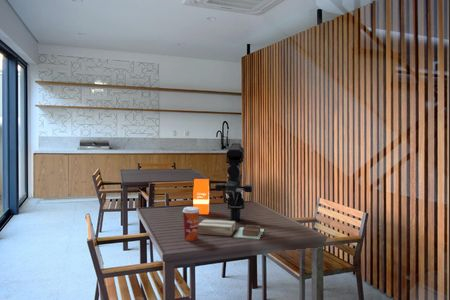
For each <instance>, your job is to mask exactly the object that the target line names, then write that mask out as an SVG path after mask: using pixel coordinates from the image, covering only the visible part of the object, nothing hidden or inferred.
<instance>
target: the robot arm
mask: <svg viewBox="0 0 450 300" xmlns="http://www.w3.org/2000/svg"><path fill="white" fill-rule="evenodd" d="M244 159H245V148H244V147H243V146H242V145H241V143H238V142H237V143H235V142H234V143H231V146H230V147H229V148H228V149H227V150H226V160H225V163H226V164H228V167H227V170H226V171H227V174H228V178H227V181H226V183H221V182H220V183H218V182H217V184H216V185H215V186H214V191H217V192H218V191H222V190H226V193H228V197H227V210H229V211H230V215H229V218H228V221H238V222H241V221H242V219H243V216H242V215H241V213H242V211H241V210H243V209H245V199H244V198H243V194H242V193H243V191H244V192H245V193H253V191H254V185H253V184H245V185H242V183H241V166H242V164H243V162H244Z"/></svg>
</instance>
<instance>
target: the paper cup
mask: <svg viewBox="0 0 450 300" xmlns="http://www.w3.org/2000/svg"><path fill="white" fill-rule="evenodd" d="M182 209H183V210H182V213H183V215H182V216H183V230H184V240H185V241H187V242H188V241H189V242H195V241H197V240H198V224H199V218H200V214H199V212H200V211H199V209H198V208H197V207H193V206H185V207H184V208H182Z"/></svg>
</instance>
